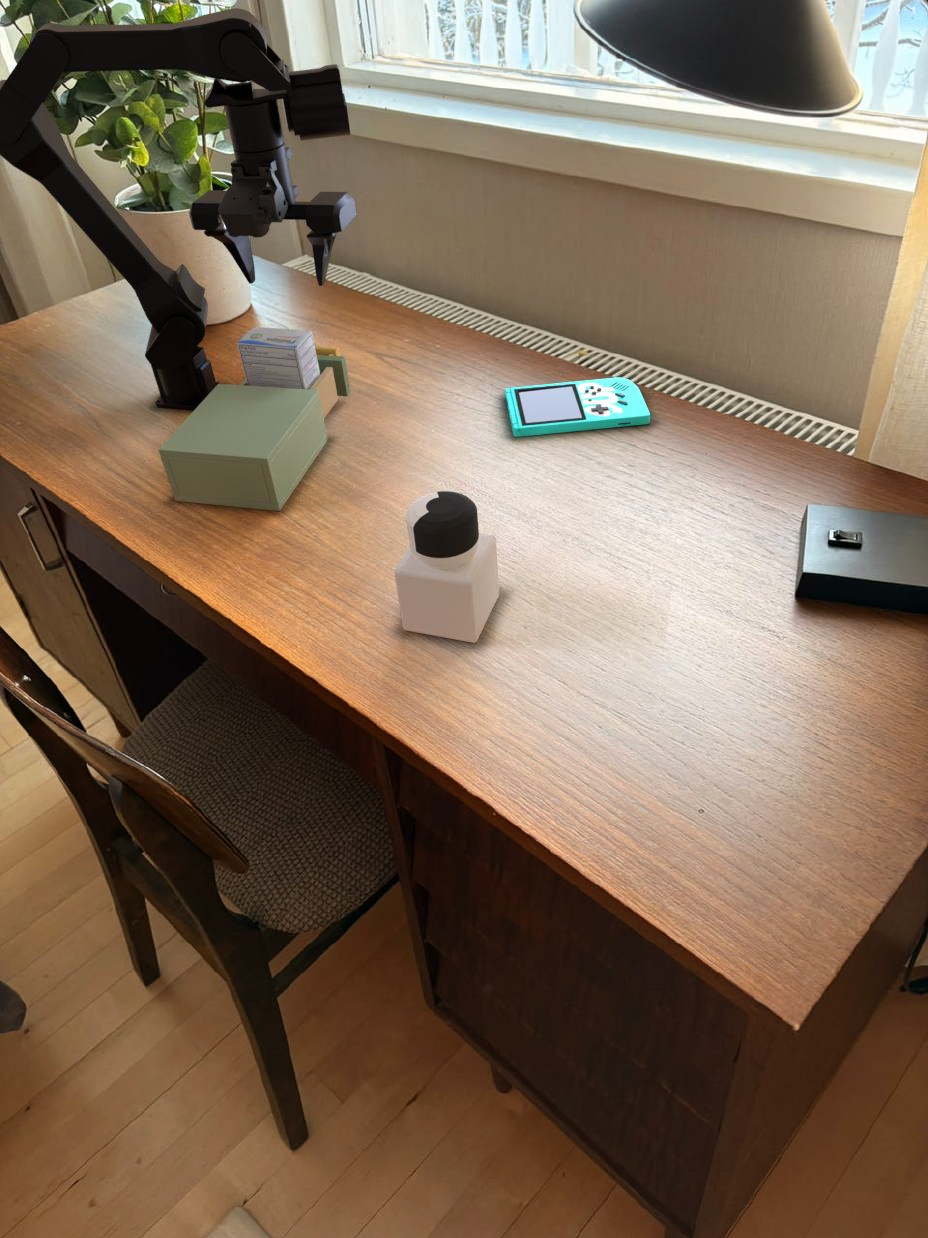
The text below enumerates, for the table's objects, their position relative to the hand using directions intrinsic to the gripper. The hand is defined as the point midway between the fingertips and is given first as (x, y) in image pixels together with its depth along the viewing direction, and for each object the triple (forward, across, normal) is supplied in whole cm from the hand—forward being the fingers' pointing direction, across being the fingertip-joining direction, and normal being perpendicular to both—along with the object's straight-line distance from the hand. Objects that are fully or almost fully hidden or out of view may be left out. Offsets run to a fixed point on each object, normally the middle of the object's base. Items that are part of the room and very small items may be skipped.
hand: (286, 283), depth 115 cm
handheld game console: (+13, +36, -3) cm, 38 cm away
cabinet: (+13, +2, -21) cm, 25 cm away
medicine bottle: (+13, +31, -41) cm, 53 cm away
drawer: (+12, +2, -8) cm, 15 cm away
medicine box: (+11, +2, -9) cm, 15 cm away
